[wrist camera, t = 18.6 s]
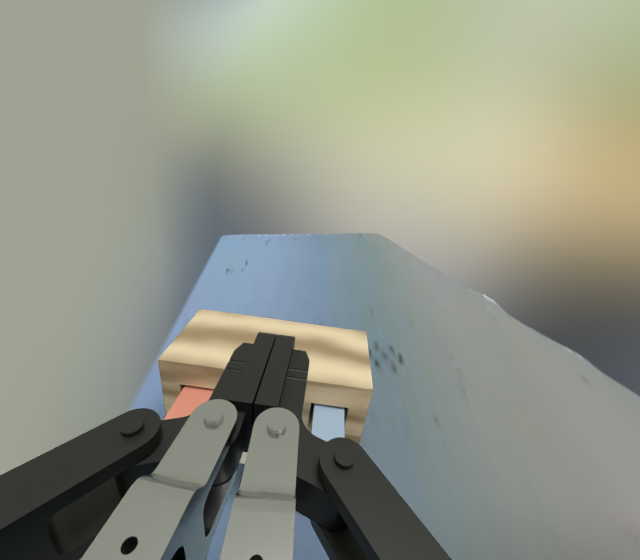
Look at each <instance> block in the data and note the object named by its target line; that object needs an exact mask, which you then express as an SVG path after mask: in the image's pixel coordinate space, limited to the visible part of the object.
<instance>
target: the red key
mask: <svg viewBox="0 0 640 560" xmlns="http://www.w3.org/2000/svg"><path fill="white" fill-rule="evenodd" d="M213 391H214V389H210V388H203V387H196V386H189V385H185V387H184V388H183V390H182V391H181V393H180V394H179V396H178V398H177V399H176V401H175V402H174V404H173V405H172V407H171V409H170V410H169V412H168V413H167V415H166V416H165V418H164V419H163V420H167V419H174V418H180V417H185V416H188V415H191V414H192V412H193V411H194V410H195V409H196V408H197V407H198V406H199V405H201V404H202V403H204V402H206V401H208V400H209V399H210V397H211V395H212V393H213Z"/></svg>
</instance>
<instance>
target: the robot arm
mask: <svg viewBox="0 0 640 560" xmlns="http://www.w3.org/2000/svg"><path fill="white" fill-rule="evenodd" d="M294 347H295V337H293V336H286V335H279V334H278V335H277V334H271V333H264V332H258V334H257V337H256V339H255V341H254V343H253V344H251V343H243V344H241V345H240V346H239V347H238V348H236V349H235V350H234V352H233V354H232V356H231V358H230V360H229V362H228V364H227V365H226V367H225V369H224V371H223V373H222V375H221V377H220V379H219V381H218V383H217V385H216V387H215V389H214V391H213V393H212V395H211V397H210V399H209V400H208V401H206V402H204V403H202V404H201V405H199V406H198V407H197V408H196V409H195V410H194V411H193V412H192V414H191V415H188V416H185V417H180V418H174V419H167V420H160V417H159V415H158V414H157V413H156V412H155V411H153V410H151V409H145V408H141V409H135V410H131V411H128V412H126V413H124V414H122V415H120V416H118V417H116V418H114V419H112V420H110V421H108V422H106V423H104V424H102V425H100V426H98V427H96V428H94V429H92V430H90V431H88V432H86V433H84V434H82V435H80V436H78V437H76V438H74V439H72V440H70V441H68V442H66V443H64V444H62V445H60V446H59V447H56V448H54V449H52V450H50V451H48V452H46V453H44V454H42V455H40V456H38V457H36V458H34V459H32V460H30V461H28V462H26V463H24V464H22V465H20V466H18V467H17V468H14V469H12V470H10V471H8V472H6V473H4V474H2V475H1V476H0V560H80V559H81V560H207V555H208V550H209V546H210V543H211V540H212V537H213V535H214V532H215V530H216V527H217V524H218V522H219V519H220V517H221V514H222V512H223V509H224V507H225V504H226V502H227V499H228V496H229V494H230V491H231V489H232V486H233V484H234V481H235V479H236V476H237V468H238V466H239V462H240V459H241V456H242V453H243V452H248V453H247V457H246V462H245V466H244V471H243V475H242V480H241V484H240V488H239V491H238V493H236V495H235V498H234V501H233V505H232V509H231V513H230V518H229V522H228V526H227V531H226V535H225V539H224V544H223V548H222V552H221V557H220V560H292V556H293V540H294V523H295V510H296V511H297V512H299V513H301V514H302V515H304V516H306V517H308V518H309V519H310V521H311V524H312V527H313V529H314V531H315V533H316V534H317V536H318V538H319V540H320V542H321V544H322V546H323V548H324V549H325V551H326V553H327V555H328V557H329V559H330V560H452V559H451V558H450V557H449V556H448V554H447V553H446V552H445V551H444V550H443V548H442V547H441V546H440V545H439V543H438V542H437V541H436V540H435V538H434V537H433V536H432V535H431V533H430V532H429V531H428V530H427V528H426V527H425V526H424V525H423V523H422V522H421V521H420V520H419V518H418V517H417V516H416V515H415V513H414V512H413V511H412V510H411V508H410V507H409V506H408V505H407V503H406V502H405V501H404V500H403V498H402V497H401V496H400V495H399V493H398V492H397V491H396V490H395V488H394V487H393V486H392V485H391V483H390V482H389V481H388V480H387V478H386V477H385V476H384V475H383V473H382V472H381V471H380V470H379V468H378V467H377V466H376V465H375V463H374V462H373V461H372V460H371V458H370V457H369V456H368V455H367V453H366V452H365V451H364V450H363V448H362V447H361V446H360V445H359V444H358V443H356V442H355V441H353V440H351V439H348V438H343V437H337V438H333V439H331V440H329V441H328V442H327V441H325V440H322V439H320V438H318V437H317V436H315V435H313V434H312V433H311V432H310V431H309V430H308V429H307V428H306V427H305V425H304V423H303V420H302V412H303V406H304V399H305V392H306V385H307V377H308V369H309V362H310V360H309V358H308V355H307V353H306V351H302V350H295V349H294Z"/></svg>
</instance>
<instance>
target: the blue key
mask: <svg viewBox="0 0 640 560" xmlns="http://www.w3.org/2000/svg"><path fill="white" fill-rule="evenodd" d="M311 433H312V434H313V435H315V436H317V437H318V438H320V439H322V440H325V441H327V442H328V441H329V440H331V439H333V438H337V437H343V438H345V430H344V407H338V406H330V405H323V404H316V403H314V406H313V415H312V424H311Z"/></svg>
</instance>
